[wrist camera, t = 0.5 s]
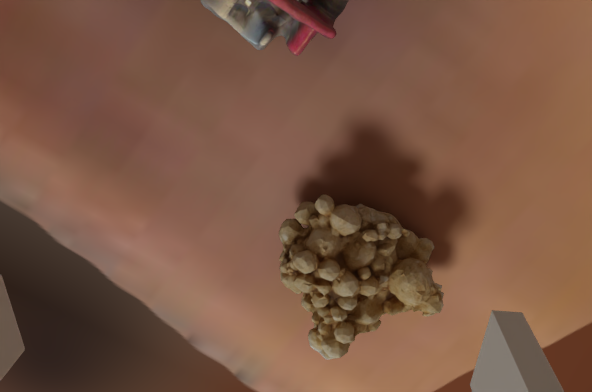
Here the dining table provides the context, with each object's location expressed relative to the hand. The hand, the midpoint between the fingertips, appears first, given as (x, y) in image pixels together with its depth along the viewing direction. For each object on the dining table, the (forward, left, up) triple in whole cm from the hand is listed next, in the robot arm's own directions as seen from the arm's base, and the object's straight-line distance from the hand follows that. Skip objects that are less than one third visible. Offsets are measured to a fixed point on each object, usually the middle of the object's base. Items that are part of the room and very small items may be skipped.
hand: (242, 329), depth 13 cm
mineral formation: (+13, +5, -26) cm, 30 cm away
